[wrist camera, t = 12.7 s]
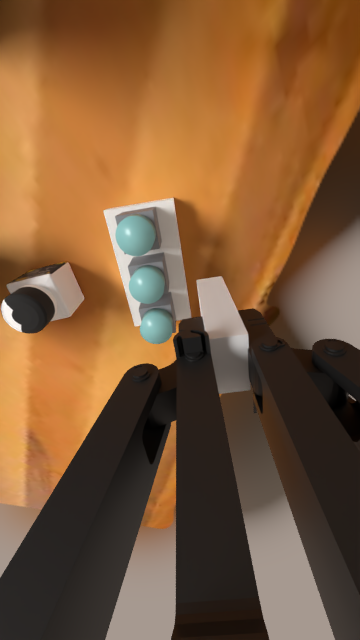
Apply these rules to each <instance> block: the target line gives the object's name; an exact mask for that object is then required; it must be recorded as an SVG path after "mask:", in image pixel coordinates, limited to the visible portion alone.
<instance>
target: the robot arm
mask: <svg viewBox="0 0 360 640" xmlns="http://www.w3.org/2000/svg"><path fill="white" fill-rule="evenodd" d="M196 281H197V289H198V296H199V304H200V312H201V317H195V318H188V319H183V320H182V321H181V322H180V324H179V333H177V334H176V335H175V336H174V339H173V342H174V347H175V352H176V357H177V360H176V361H175V362H174V363H172V364H171V365H169V366H167V367H165V368H162V369H159V370H158V368H157V367H156V366H154V365H153V364H139V365H137V366H134V367H132V368H131V369H129V370H128V371H127V372H126V373H125V374H124V376H123V377H122V379H121V381H120V382H119V384H118V386H117V387H116V389H115V391H114V392H113V394H112V395H111V397H110V399H109V400H108V402H107V404H106V405H105V407H104V409H103V410H102V412H101V414H100V415H99V417H98V418H97V420H96V422H95V423H94V425H93V427H92V428H91V430H90V432H89V433H88V435H87V436H86V438H85V440H84V441H83V443H82V445H81V446H80V448H79V450H78V451H77V453H76V455H75V456H74V458H73V459H72V461H71V463H70V464H69V466H68V468H67V469H66V471H65V473H64V474H63V476H62V477H61V479H60V481H59V482H58V484H57V486H56V487H55V489H54V491H53V492H52V494H51V496H50V497H49V499H48V500H47V502H46V504H45V505H44V507H43V509H42V510H41V512H40V514H39V515H38V517H37V519H36V520H35V522H34V523H33V525H32V527H31V528H30V530H29V532H28V533H27V535H26V537H25V538H24V540H23V541H22V543H21V545H20V547H19V548H18V550H17V551H16V553H15V555H14V556H13V558H12V560H11V561H10V563H9V565H8V566H7V568H6V569H5V571H4V573H3V574H2V576H1V578H0V640H105V638H106V635H107V631H108V628H109V625H110V622H111V619H112V615H113V612H114V609H115V605H116V602H117V599H118V596H119V592H120V589H121V586H122V583H123V580H124V576H125V573H126V570H127V567H128V563H129V560H130V557H131V553H132V550H133V547H134V544H135V541H136V537H137V534H138V531H139V528H140V524H141V521H142V518H143V515H144V511H145V508H146V505H147V502H148V498H149V495H150V492H151V489H152V485H153V482H154V479H155V476H156V472H157V469H158V466H159V463H160V459H161V456H162V453H163V450H164V446H165V443H166V440H167V437H168V433H169V430H170V427H171V422H172V421H175V420H176V616H175V625H174V630H173V634H172V637H171V640H269V637H268V632H267V629H266V626H265V622H264V619H263V615H262V610H261V605H260V601H259V596H258V591H257V586H256V580H255V575H254V571H253V565H252V561H251V555H250V550H249V545H248V540H247V534H246V529H245V524H244V519H243V514H242V509H241V504H240V499H239V494H238V489H237V484H236V478H235V474H234V468H233V463H232V458H231V453H230V448H229V443H228V438H227V433H226V428H225V422H224V417H223V412H222V407H221V402H220V397H219V394H221V393H229V392H237V391H246V390H250V382H251V385H252V388H253V405H254V407H253V408H254V413H256V411H258V414H259V417H260V420H261V423H262V426H263V429H264V432H265V435H266V438H267V440H268V444H269V447H270V450H271V453H272V456H273V459H274V461H275V464H276V467H277V470H278V473H279V476H280V479H281V482H282V485H283V488H284V491H285V494H286V496H287V500H288V502H289V505H290V508H291V511H292V514H293V517H294V520H295V523H296V526H297V529H298V532H299V535H300V538H301V540H302V543H303V547H304V549H305V552H306V555H307V558H308V561H309V564H310V567H311V570H312V573H313V576H314V579H315V582H316V585H317V587H318V591H319V593H320V596H321V599H322V602H323V605H324V608H325V611H326V614H327V617H328V619H329V623H330V626H331V629H332V631H333V635H334V637H335V640H360V350H359V349H357V348H355V347H354V346H352V345H350V344H349V343H346V342H344V341H341V340H336V339H323V340H319V341H317V342H315V343H314V345H313V348H312V350H303V349H294V348H290V346H289V345H288V343H287V342H285V341H284V340H283V339H280V338H278V337H275V335H274V333H273V332H272V330H271V329H270V327H269V325H268V324H267V322H266V321H265V319H264V317H263V316H262V314H261V313H260V312H258V311H257V310H255V309H247V310H239V311H237V308H236V306H235V304H234V302H233V300H232V298H231V295H230V293H229V291H228V289H227V287H226V284H225V282H224V280H223V278H222V276H219V277H213V278H206V279H199V280H196ZM349 394H350V395H351V396H352V397H354V398H355V399H356V401H355V400H353V399H352V398H350V397H349V396H348V395H349Z"/></svg>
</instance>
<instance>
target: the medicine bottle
mask: <svg viewBox="0 0 360 640" xmlns="http://www.w3.org/2000/svg"><path fill="white" fill-rule="evenodd" d="M6 286H7V288H8V290H9V292H10V295H9V296H7V297H6V298H5V299H4V300H3V302H2V305H1V312H2V315H3V318H4V319H5V321H6V322H7V323H8V324H9V325H10V326H11V327H12V328H14V329H16V330H18V331H20V332H24V333H37V332H39V331H41V330H42V329H43V328H44V327H45V326H46V325H47V324H48V323H49V322H50V321H54V320H59V319H63V318H68V317H70V316H71V315H72V314H73V313H74V312H75V310H76V309H77V308H78V307H79V305H80V304H81V303H82V302H83V300H84V296H83V294H82V292H81V289H80V287H79V285H78V283H77V280H76V278H75V276H74V274H73V271H72V269H71V267H70V265H69V263H68V262H62V263H58V264H54V265H50V266H46V267H42V268H38V269H34V270H30V271H28V272H27V273H25V274H23V275H22V276H20V277H18V278H17V279H15V280H13V281H12V282H10V283H8V284H7V285H6Z"/></svg>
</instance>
